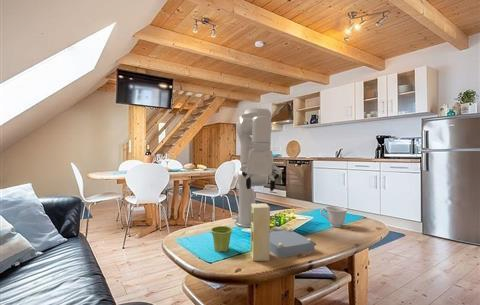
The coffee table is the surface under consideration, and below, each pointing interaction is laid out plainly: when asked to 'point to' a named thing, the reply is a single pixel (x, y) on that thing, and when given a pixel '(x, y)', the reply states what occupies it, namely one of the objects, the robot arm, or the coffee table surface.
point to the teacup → (335, 215)
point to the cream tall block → (260, 232)
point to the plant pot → (221, 237)
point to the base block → (289, 243)
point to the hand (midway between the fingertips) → (260, 189)
